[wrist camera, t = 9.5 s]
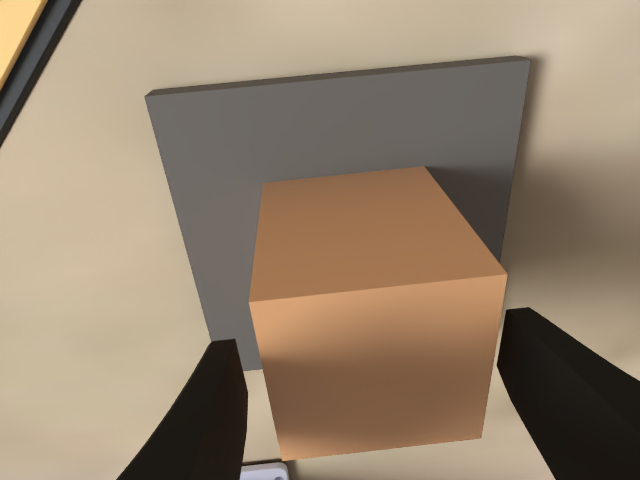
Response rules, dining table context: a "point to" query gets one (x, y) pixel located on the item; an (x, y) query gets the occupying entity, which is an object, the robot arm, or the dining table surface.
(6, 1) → the dark grey book
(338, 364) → the peach tan brick
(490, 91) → the post board
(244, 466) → the robot arm
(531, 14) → the dining table surface
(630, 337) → the dining table surface
